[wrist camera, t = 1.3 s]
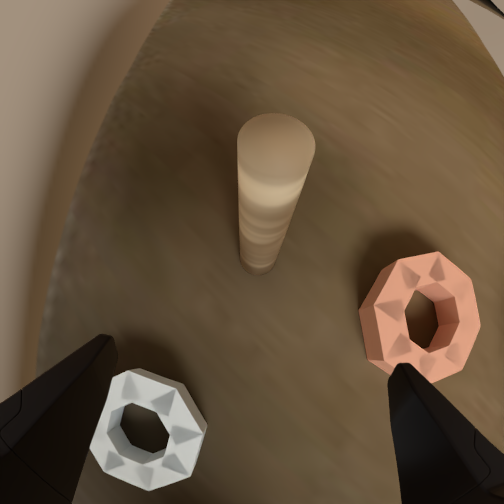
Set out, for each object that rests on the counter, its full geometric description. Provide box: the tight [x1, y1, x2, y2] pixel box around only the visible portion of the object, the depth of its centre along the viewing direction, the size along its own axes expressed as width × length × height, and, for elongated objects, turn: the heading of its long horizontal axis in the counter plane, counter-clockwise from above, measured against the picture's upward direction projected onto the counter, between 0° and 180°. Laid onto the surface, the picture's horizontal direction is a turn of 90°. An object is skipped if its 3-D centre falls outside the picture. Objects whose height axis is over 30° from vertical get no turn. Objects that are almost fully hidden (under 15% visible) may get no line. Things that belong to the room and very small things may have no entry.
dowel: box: [237, 113, 315, 275], centre depth 17 cm, size 3×3×14 cm
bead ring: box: [358, 252, 481, 383], centre depth 21 cm, size 9×9×3 cm
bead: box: [90, 368, 208, 491], centre depth 18 cm, size 8×8×3 cm
